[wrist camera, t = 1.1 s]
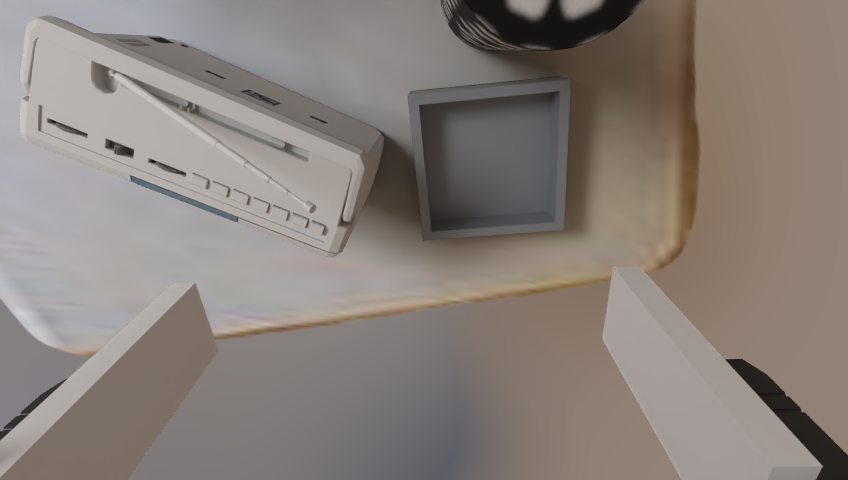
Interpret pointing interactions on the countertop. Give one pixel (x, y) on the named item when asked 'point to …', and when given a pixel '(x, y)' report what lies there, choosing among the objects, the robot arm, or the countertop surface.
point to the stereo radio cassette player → (198, 131)
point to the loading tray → (491, 157)
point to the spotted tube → (534, 22)
